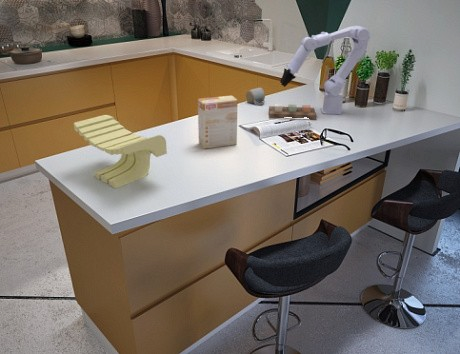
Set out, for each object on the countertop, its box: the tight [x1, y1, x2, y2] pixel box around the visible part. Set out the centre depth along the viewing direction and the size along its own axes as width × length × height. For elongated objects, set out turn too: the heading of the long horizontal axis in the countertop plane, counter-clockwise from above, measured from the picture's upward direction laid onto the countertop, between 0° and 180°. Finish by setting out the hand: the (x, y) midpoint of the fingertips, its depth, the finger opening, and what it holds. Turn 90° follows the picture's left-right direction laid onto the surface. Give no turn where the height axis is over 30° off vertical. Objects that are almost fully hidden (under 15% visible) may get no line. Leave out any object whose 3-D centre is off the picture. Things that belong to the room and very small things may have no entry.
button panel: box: [268, 105, 318, 121], centre depth 218 cm, size 23×12×2 cm, turn 87°
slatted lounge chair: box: [73, 114, 168, 189], centre depth 150 cm, size 30×16×18 cm, turn 48°
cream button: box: [274, 103, 284, 112], centre depth 217 cm, size 4×4×3 cm
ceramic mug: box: [245, 87, 266, 106], centre depth 235 cm, size 11×8×8 cm
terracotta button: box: [302, 104, 312, 113], centre depth 216 cm, size 4×4×3 cm
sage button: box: [287, 104, 298, 112], centre depth 217 cm, size 4×4×3 cm
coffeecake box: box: [197, 95, 238, 150], centre depth 178 cm, size 15×7×20 cm, turn 111°
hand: (282, 84), depth 214 cm, fingers open, 7 cm apart
